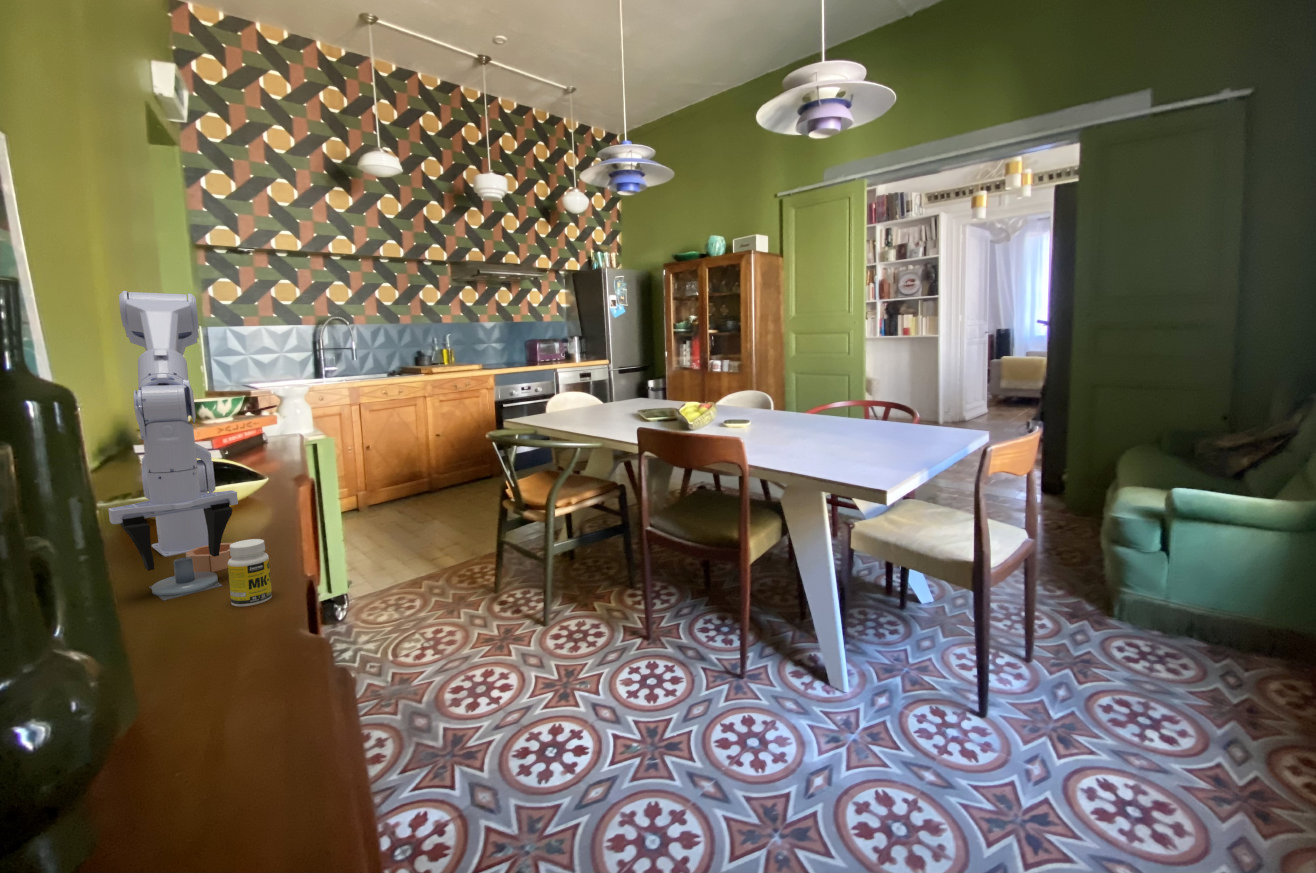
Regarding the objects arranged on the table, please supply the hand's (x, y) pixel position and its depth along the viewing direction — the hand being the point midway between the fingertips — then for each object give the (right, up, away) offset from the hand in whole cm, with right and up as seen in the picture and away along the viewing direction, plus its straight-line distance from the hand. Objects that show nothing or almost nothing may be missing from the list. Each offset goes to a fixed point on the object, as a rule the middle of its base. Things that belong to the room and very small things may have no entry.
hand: (183, 561), depth 90 cm
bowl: (-2, -3, +10) cm, 10 cm away
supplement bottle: (+13, -5, -4) cm, 14 cm away
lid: (0, -4, +1) cm, 4 cm away
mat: (0, -4, +1) cm, 4 cm away
